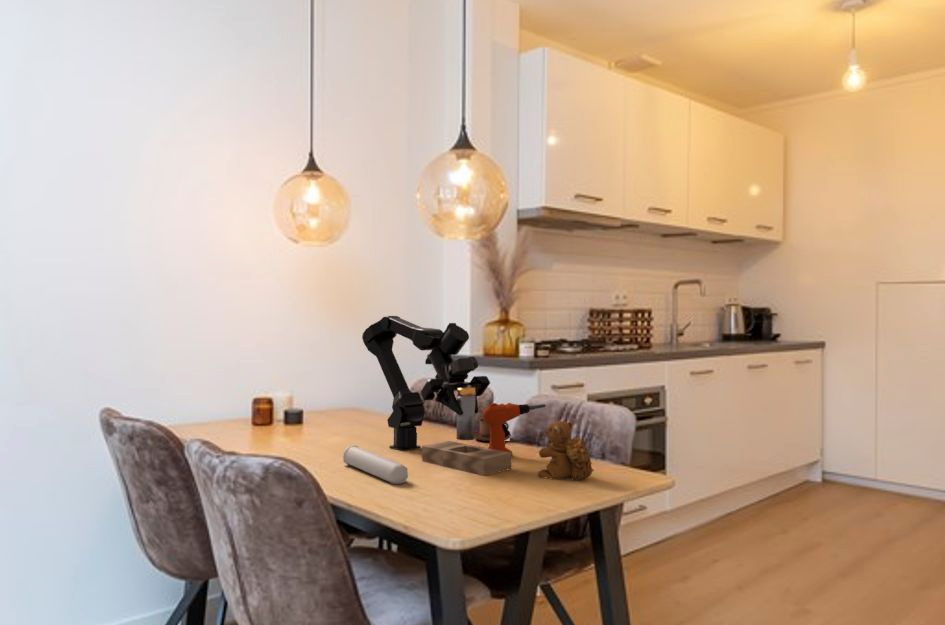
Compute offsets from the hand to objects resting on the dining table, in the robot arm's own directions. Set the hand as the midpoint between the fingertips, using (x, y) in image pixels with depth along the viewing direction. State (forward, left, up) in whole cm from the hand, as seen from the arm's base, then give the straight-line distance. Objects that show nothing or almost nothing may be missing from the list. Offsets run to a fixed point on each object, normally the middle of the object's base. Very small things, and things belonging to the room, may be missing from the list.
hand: (469, 413), depth 174 cm
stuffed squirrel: (+24, +9, -14) cm, 29 cm away
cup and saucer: (-20, +31, -14) cm, 40 cm away
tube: (-10, -22, -14) cm, 28 cm away
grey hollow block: (-1, 0, -13) cm, 13 cm away
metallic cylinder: (-1, 0, -7) cm, 7 cm away
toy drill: (0, +18, -14) cm, 23 cm away
